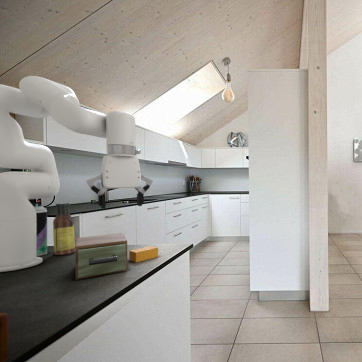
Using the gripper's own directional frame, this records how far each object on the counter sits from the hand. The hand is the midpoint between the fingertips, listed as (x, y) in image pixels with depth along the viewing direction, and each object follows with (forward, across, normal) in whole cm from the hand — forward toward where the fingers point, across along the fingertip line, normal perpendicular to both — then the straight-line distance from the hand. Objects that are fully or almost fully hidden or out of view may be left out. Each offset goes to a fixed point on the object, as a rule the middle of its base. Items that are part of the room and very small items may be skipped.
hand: (122, 207), depth 80 cm
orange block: (+20, -9, -11) cm, 25 cm away
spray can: (+20, +19, -45) cm, 53 cm away
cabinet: (+20, +4, -9) cm, 23 cm away
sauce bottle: (+20, +12, -40) cm, 46 cm away
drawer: (+19, +5, -4) cm, 20 cm away
